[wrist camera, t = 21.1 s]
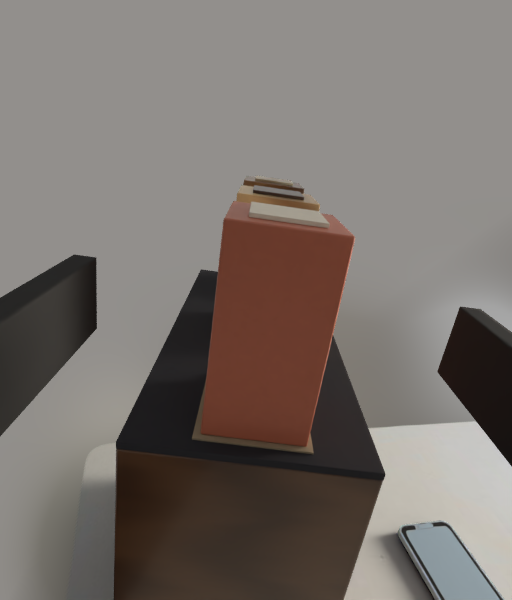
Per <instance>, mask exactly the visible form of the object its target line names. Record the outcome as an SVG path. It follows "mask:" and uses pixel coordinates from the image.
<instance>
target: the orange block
mask: <svg viewBox="0 0 512 600" xmlns="http://www.w3.org/2000/svg"><path fill="white" fill-rule="evenodd" d="M354 242H355V237H354V236H353V234H352V233H351V232H350V231H348V230H347V229H346V228H345V227H344V226H343V225H342V224H341V223H340V222H339V221H338V220H337V219H336V218H335V217H334V216H333V215H328V214H321V213H320V212H319V211H314V210H307V209H300V208H293V207H286V206H279V205H272V204H265V203H258V202H251V203H244V202H237V201H233V203H232V205H231V207H230V209H229V211H228V213H227V214H226V217H225V218H224V222H223V231H222V240H221V249H220V258H219V267H218V276H217V285H216V295H215V304H214V313H213V322H212V331H211V340H210V349H209V358H208V368H207V377H206V386H205V395H204V404H203V413H202V422H201V431H200V432H201V434H206V435H214V436H222V437H230V438H239V439H247V440H255V441H263V442H271V443H280V444H288V445H296V446H304V447H306V446H307V444H308V440H309V435H310V431H311V427H312V423H313V418H314V414H315V410H316V405H317V401H318V397H319V392H320V388H321V384H322V379H323V375H324V371H325V367H326V362H327V358H328V354H329V349H330V345H331V341H332V336H333V332H334V328H335V323H336V319H337V315H338V311H339V306H340V302H341V298H342V293H343V289H344V285H345V280H346V276H347V272H348V267H349V263H350V259H351V254H352V250H353V246H354Z"/></svg>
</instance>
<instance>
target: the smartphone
mask: <svg viewBox="0 0 512 600" xmlns="http://www.w3.org/2000/svg"><path fill="white" fill-rule="evenodd" d="M398 536H399V538H400V539H401V541H402V543H403V545H404V546H405V548H406V550H407V552H408V553H409V555H410V557H411V559H412V560H413V562H414V564H415V566H416V567H417V569H418V571H419V572H420V574H421V576H422V578H423V579H424V581H425V583H426V585H427V586H428V588H429V590H430V592H431V593H432V595H433V597H434V599H435V600H504V598H503V597H502V595H501V594H500V593H499V591H498V590H497V588H496V587H495V586H494V584H493V583H492V581H491V580H490V579H489V577H488V576H487V575H486V573H485V572H484V570H483V569H482V568H481V566H480V565H479V563H478V562H477V561H476V559H475V558H474V556H473V555H472V554H471V552H470V551H469V550H468V548H467V547H466V545H465V544H464V543H463V541H462V540H461V538H460V537H459V536H458V534H457V533H456V532H455V530H454V529H453V527H452V526H451V525H450V524H449V523H447V522H445V521H442V520H439V521H431V522H423V523H414V524H406V525H402V526H400V528H399V531H398Z"/></svg>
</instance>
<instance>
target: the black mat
mask: <svg viewBox="0 0 512 600" xmlns="http://www.w3.org/2000/svg"><path fill="white" fill-rule="evenodd" d="M217 276H218V272H215V271H208V270H201V271H200V273H199V275H198V277H197V279H196V281H195V283H194V285H193V287H192V289H191V291H190V293H189V295H188V297H187V299H186V301H185V303H184V305H183V307H182V309H181V311H180V313H179V315H178V317H177V320H176V322H175V324H174V325H173V327H172V330H171V332H170V334H169V336H168V338H167V340H166V342H165V344H164V346H163V348H162V350H161V352H160V354H159V356H158V358H157V360H156V362H155V364H154V366H153V368H152V370H151V372H150V375H149V376H148V378H147V380H146V383H145V384H144V386H143V388H142V390H141V393H140V395H139V397H138V399H137V401H136V403H135V405H134V407H133V409H132V411H131V413H130V415H129V417H128V419H127V421H126V423H125V425H124V427H123V429H122V431H121V433H120V435H119V437H118V439H117V441H116V449H123V450H131V451H139V452H148V453H156V454H165V455H173V456H181V457H190V458H198V459H206V460H215V461H223V462H232V463H240V464H248V465H257V466H265V467H273V468H282V469H290V470H299V471H307V472H315V473H324V474H332V475H340V476H349V477H357V478H366V479H374V480H382V481H383V480H384V477H385V472H384V469H383V466H382V464H381V461H380V459H379V456H378V453H377V451H376V448H375V445H374V443H373V440H372V437H371V435H370V432H369V429H368V427H367V424H366V422H365V419H364V417H363V413H362V411H361V408H360V406H359V403H358V400H357V398H356V395H355V392H354V390H353V387H352V384H351V382H350V379H349V377H348V374H347V371H346V369H345V366H344V363H343V360H342V358H341V355H340V353H339V350H338V347H337V344H336V342H335V339H334V337H333V336H332V341H331V345H330V349H329V354H328V358H327V362H326V367H325V371H324V375H323V379H322V384H321V388H320V392H319V397H318V401H317V405H316V410H315V414H314V418H313V423H312V427H311V431H310V435H309V440H308V444H307V446H306V447H304V446H296V445H288V444H280V443H271V442H263V441H255V440H247V439H239V438H230V437H222V436H214V435H206V434H201V432H200V431H201V422H202V413H203V404H204V395H205V386H206V377H207V368H208V358H209V349H210V340H211V331H212V322H213V313H214V304H215V295H216V285H217Z"/></svg>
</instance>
